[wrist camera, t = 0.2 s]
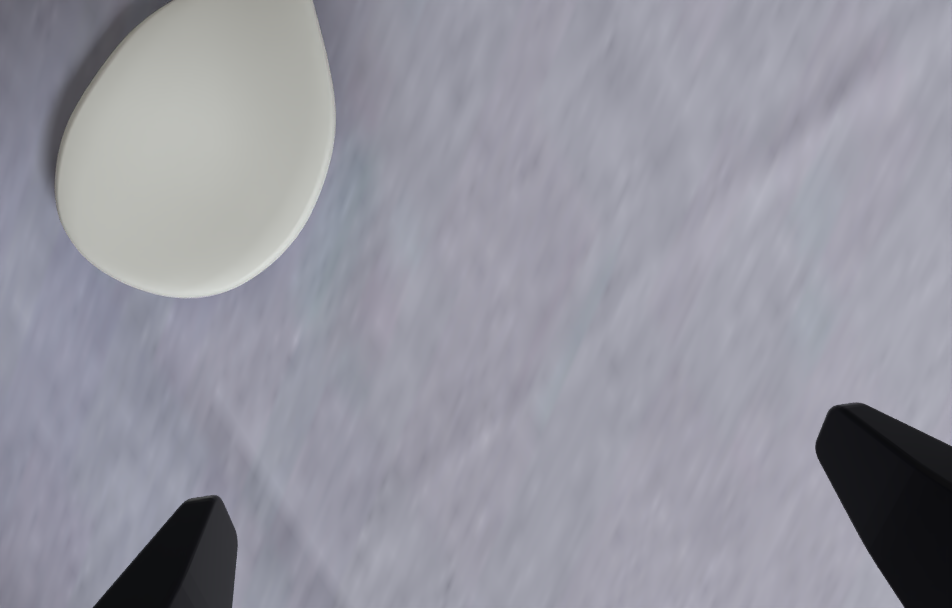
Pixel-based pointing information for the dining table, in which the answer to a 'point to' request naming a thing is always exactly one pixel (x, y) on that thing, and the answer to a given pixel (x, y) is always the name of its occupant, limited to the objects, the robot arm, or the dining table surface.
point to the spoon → (199, 146)
